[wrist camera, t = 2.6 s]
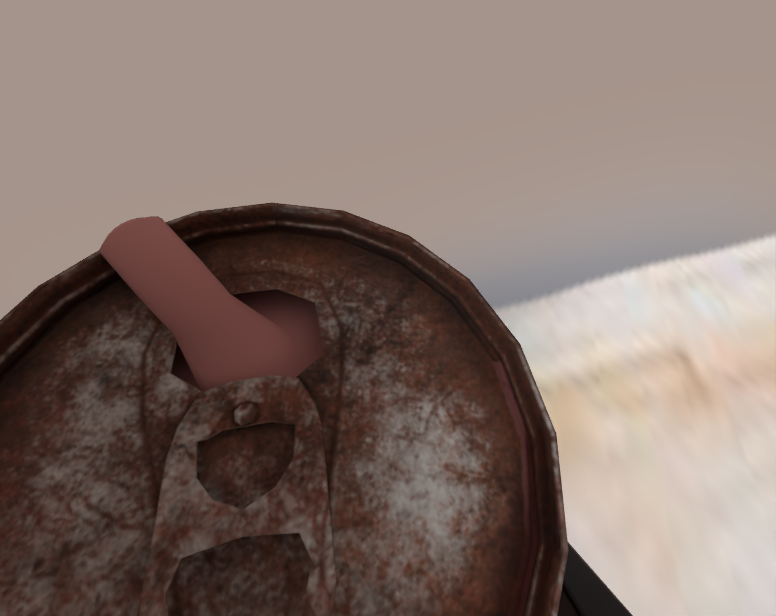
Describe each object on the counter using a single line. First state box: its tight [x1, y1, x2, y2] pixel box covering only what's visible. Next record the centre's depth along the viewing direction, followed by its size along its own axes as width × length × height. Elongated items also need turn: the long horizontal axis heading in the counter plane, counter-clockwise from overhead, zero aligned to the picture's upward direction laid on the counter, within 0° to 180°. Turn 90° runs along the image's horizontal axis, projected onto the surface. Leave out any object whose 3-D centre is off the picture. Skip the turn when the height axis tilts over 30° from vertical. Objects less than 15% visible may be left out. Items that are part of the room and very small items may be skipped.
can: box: [0, 203, 568, 616], centre depth 9 cm, size 6×6×14 cm
